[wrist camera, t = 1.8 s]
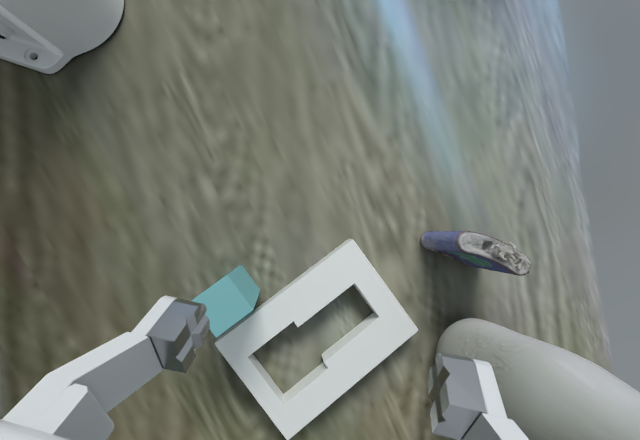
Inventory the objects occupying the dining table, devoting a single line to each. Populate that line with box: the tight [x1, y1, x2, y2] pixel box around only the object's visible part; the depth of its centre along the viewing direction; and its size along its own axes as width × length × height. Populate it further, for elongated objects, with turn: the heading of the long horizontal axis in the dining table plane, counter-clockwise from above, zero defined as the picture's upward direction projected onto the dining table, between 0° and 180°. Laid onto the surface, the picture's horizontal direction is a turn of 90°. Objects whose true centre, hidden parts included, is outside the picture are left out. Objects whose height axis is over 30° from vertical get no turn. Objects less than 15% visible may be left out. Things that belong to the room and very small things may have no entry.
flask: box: [420, 231, 531, 276], centre depth 36 cm, size 9×3×11 cm, turn 68°
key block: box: [192, 265, 260, 338], centre depth 32 cm, size 4×4×10 cm
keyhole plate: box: [215, 239, 418, 440], centre depth 37 cm, size 20×14×2 cm
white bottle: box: [436, 318, 640, 440], centre depth 26 cm, size 10×10×28 cm
